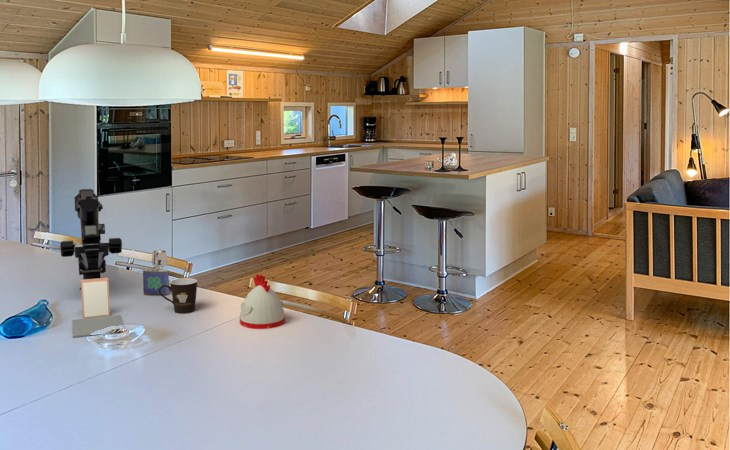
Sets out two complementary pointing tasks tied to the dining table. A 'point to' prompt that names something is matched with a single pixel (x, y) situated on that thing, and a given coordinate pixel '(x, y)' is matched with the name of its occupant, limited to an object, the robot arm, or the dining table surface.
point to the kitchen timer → (261, 307)
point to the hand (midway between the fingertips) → (93, 268)
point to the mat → (94, 324)
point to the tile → (95, 298)
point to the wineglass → (159, 259)
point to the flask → (155, 281)
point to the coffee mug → (182, 294)
